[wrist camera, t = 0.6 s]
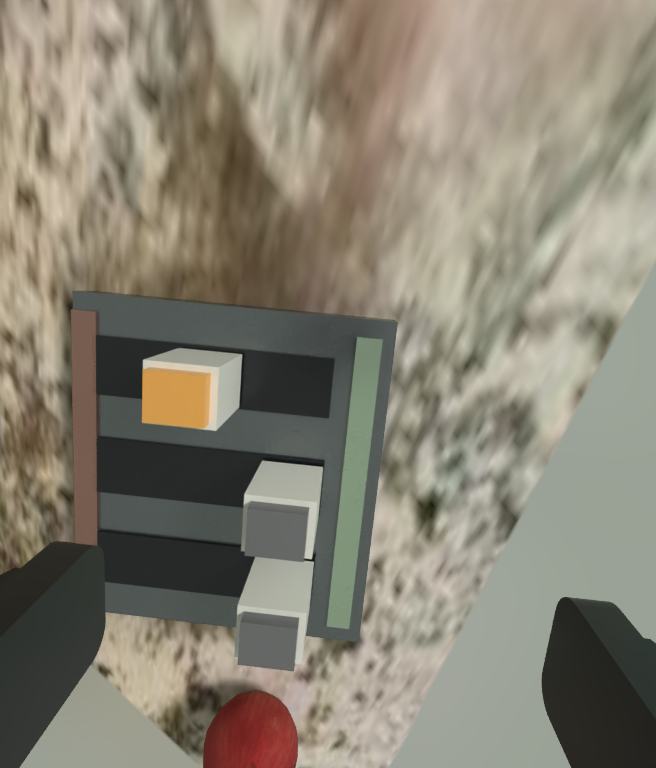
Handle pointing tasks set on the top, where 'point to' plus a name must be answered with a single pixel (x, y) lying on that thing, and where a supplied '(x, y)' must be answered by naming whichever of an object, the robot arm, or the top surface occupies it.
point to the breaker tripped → (191, 388)
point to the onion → (251, 734)
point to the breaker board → (225, 452)
